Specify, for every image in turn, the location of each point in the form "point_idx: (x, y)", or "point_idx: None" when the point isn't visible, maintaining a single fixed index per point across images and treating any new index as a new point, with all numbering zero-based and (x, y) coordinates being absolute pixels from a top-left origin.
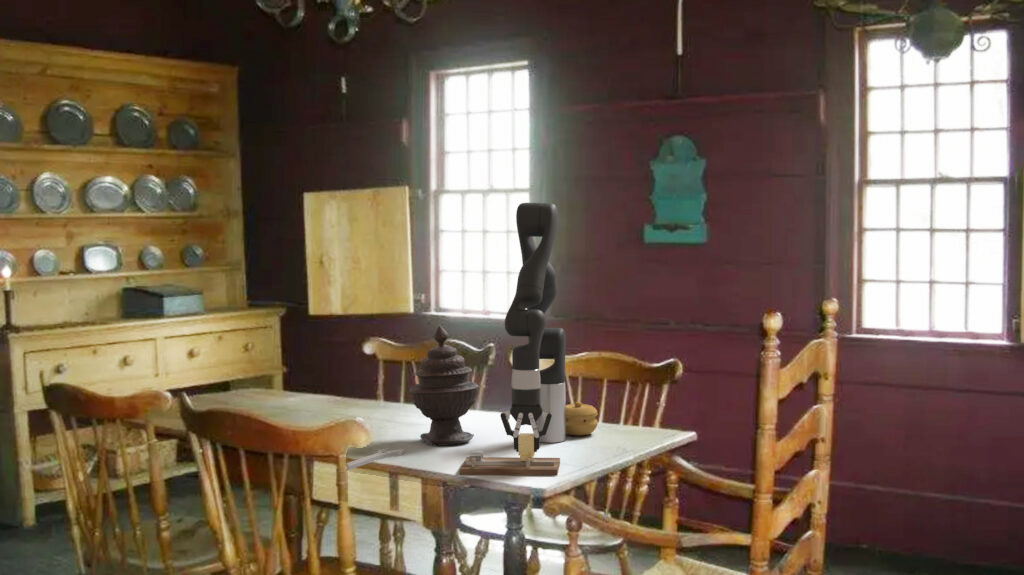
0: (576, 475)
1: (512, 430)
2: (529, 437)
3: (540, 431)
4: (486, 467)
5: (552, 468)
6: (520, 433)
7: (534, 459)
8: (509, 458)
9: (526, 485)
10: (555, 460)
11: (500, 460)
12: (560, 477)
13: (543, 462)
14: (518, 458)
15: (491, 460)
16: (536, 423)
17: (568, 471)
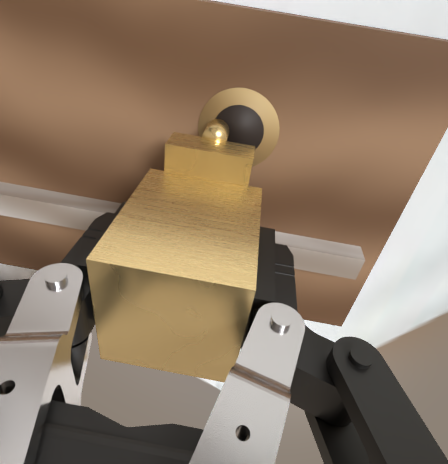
0: (421, 315)
1: (2, 325)
2: (196, 367)
3: (300, 405)
4: (20, 244)
5: (326, 306)
6: (96, 266)
7: (268, 88)
8: (84, 27)
9: (205, 379)
10: (410, 141)
11: (56, 203)
12: (341, 328)
13: (296, 267)
14: (151, 34)
15: (6, 197)
16: (268, 444)
17: (419, 251)
